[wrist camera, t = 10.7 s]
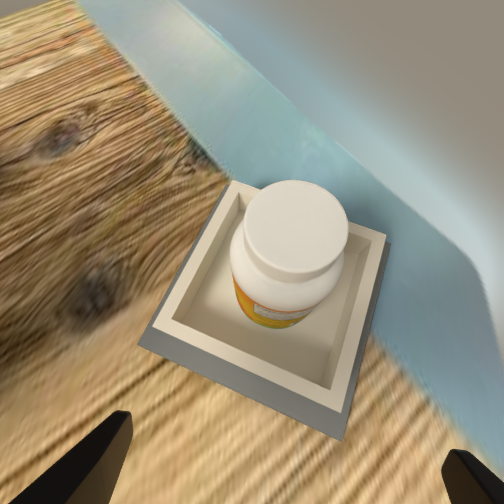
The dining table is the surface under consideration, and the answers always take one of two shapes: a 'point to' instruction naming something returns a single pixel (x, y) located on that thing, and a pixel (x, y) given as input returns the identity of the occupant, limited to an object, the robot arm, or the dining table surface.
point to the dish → (264, 339)
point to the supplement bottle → (288, 252)
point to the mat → (255, 384)
